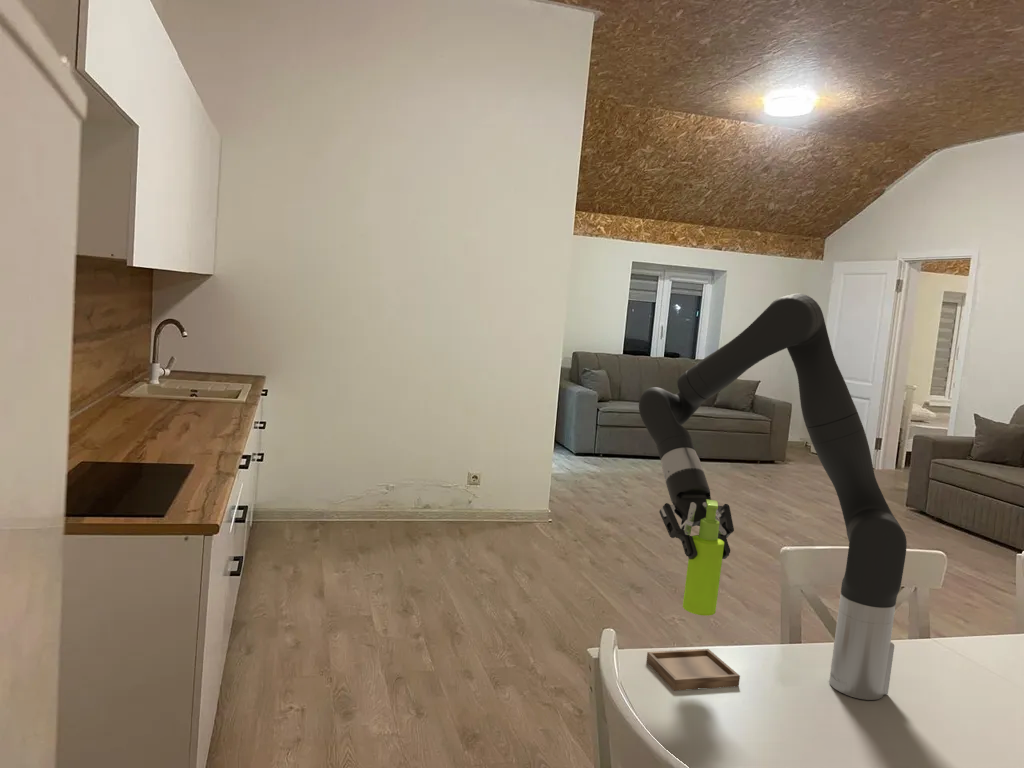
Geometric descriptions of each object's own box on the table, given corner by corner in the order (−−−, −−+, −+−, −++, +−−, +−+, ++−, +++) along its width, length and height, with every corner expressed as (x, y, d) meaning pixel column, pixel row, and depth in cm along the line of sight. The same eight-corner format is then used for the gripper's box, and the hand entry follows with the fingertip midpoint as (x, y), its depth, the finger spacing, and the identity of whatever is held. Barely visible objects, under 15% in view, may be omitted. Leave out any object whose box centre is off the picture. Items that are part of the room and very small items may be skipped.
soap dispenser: (714, 604, 147) (727, 499, 145) (716, 617, 140) (730, 508, 138) (682, 598, 148) (695, 495, 146) (682, 612, 141) (696, 504, 139)
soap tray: (707, 658, 152) (708, 648, 152) (738, 686, 142) (739, 675, 142) (646, 662, 149) (647, 651, 148) (674, 690, 138) (675, 679, 138)
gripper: (658, 465, 147) (682, 548, 136) (726, 467, 151) (754, 547, 141) (643, 486, 152) (665, 567, 142) (708, 487, 156) (734, 566, 146)
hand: (709, 557), depth 141 cm, fingers closed on soap dispenser, 6 cm apart
